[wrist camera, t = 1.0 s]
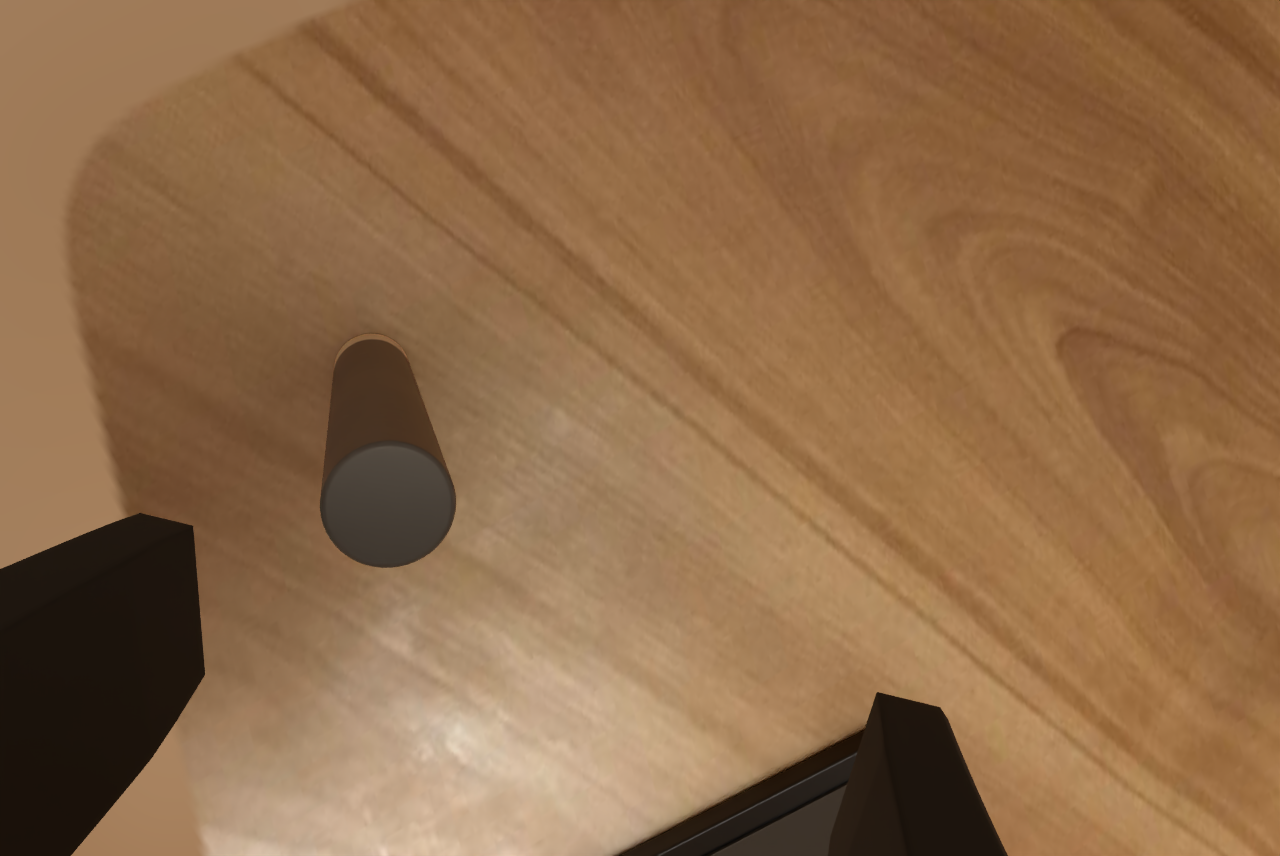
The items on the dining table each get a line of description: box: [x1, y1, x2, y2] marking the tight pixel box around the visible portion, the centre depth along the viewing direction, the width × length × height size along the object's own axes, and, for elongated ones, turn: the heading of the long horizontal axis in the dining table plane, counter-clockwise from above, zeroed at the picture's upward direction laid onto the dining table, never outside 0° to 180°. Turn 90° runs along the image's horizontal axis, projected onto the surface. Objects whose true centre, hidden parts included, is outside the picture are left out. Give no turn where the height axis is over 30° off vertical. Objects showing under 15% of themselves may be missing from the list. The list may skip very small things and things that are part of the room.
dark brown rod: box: [320, 333, 456, 568], centre depth 18 cm, size 2×2×11 cm
